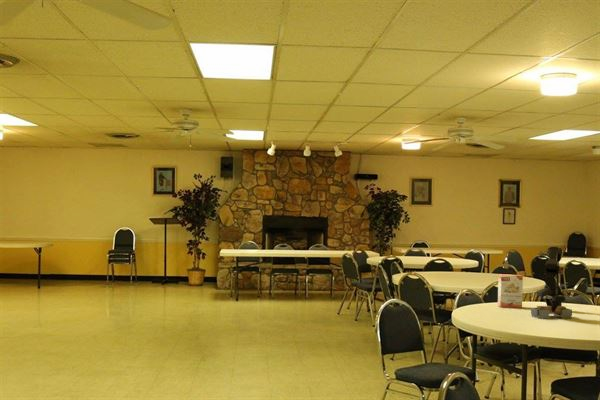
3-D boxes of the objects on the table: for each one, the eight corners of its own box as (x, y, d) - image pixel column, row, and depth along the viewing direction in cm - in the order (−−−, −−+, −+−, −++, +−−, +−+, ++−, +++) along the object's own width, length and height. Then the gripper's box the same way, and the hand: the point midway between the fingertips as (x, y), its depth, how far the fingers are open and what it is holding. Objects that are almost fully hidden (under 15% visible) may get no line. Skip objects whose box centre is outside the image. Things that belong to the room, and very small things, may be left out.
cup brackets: (564, 316, 329) (564, 307, 330) (573, 318, 322) (573, 309, 322) (530, 316, 326) (530, 307, 326) (537, 318, 318) (537, 309, 319)
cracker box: (500, 307, 356) (501, 274, 357) (497, 306, 362) (497, 273, 363) (522, 308, 355) (523, 275, 356) (519, 306, 362) (519, 274, 362)
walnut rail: (562, 312, 327) (562, 305, 327) (565, 313, 323) (565, 306, 324) (536, 312, 325) (536, 305, 325) (540, 313, 321) (540, 306, 321)
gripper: (530, 282, 333) (529, 308, 332) (548, 286, 314) (547, 314, 314) (547, 282, 334) (547, 308, 334) (566, 286, 316) (566, 314, 315)
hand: (551, 311), depth 324 cm, fingers closed on walnut rail, 3 cm apart
